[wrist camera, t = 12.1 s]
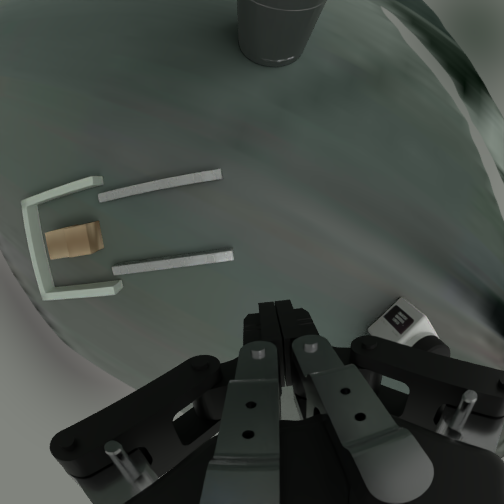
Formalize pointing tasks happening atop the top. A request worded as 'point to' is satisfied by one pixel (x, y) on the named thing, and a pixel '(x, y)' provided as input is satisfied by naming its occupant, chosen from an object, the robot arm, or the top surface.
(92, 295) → the frame
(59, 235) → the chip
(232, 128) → the top surface
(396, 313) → the container
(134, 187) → the slot rails
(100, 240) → the tan cube
